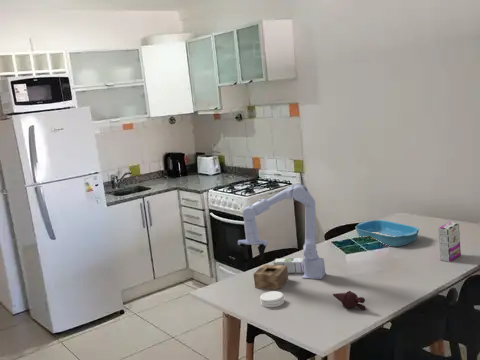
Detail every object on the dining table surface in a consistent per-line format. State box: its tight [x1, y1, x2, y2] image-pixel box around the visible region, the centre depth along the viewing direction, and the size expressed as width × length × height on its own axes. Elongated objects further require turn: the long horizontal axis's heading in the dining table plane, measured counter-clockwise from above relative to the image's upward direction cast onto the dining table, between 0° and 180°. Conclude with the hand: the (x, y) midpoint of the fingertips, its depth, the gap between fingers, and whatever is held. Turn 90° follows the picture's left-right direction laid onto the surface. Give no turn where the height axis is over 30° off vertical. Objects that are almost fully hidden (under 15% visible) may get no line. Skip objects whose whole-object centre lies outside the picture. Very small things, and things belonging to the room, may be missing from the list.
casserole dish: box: [355, 219, 420, 247], centre depth 285 cm, size 37×22×7 cm, turn 33°
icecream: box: [332, 290, 367, 311], centre depth 206 cm, size 7×7×15 cm
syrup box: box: [273, 257, 305, 274], centre depth 253 cm, size 6×6×14 cm
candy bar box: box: [438, 221, 462, 263], centre depth 245 cm, size 11×5×16 cm, turn 131°
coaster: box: [259, 290, 285, 308], centre depth 219 cm, size 10×10×4 cm
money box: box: [253, 264, 289, 290], centre depth 240 cm, size 12×12×7 cm
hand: (254, 259), depth 245 cm, fingers open, 7 cm apart
